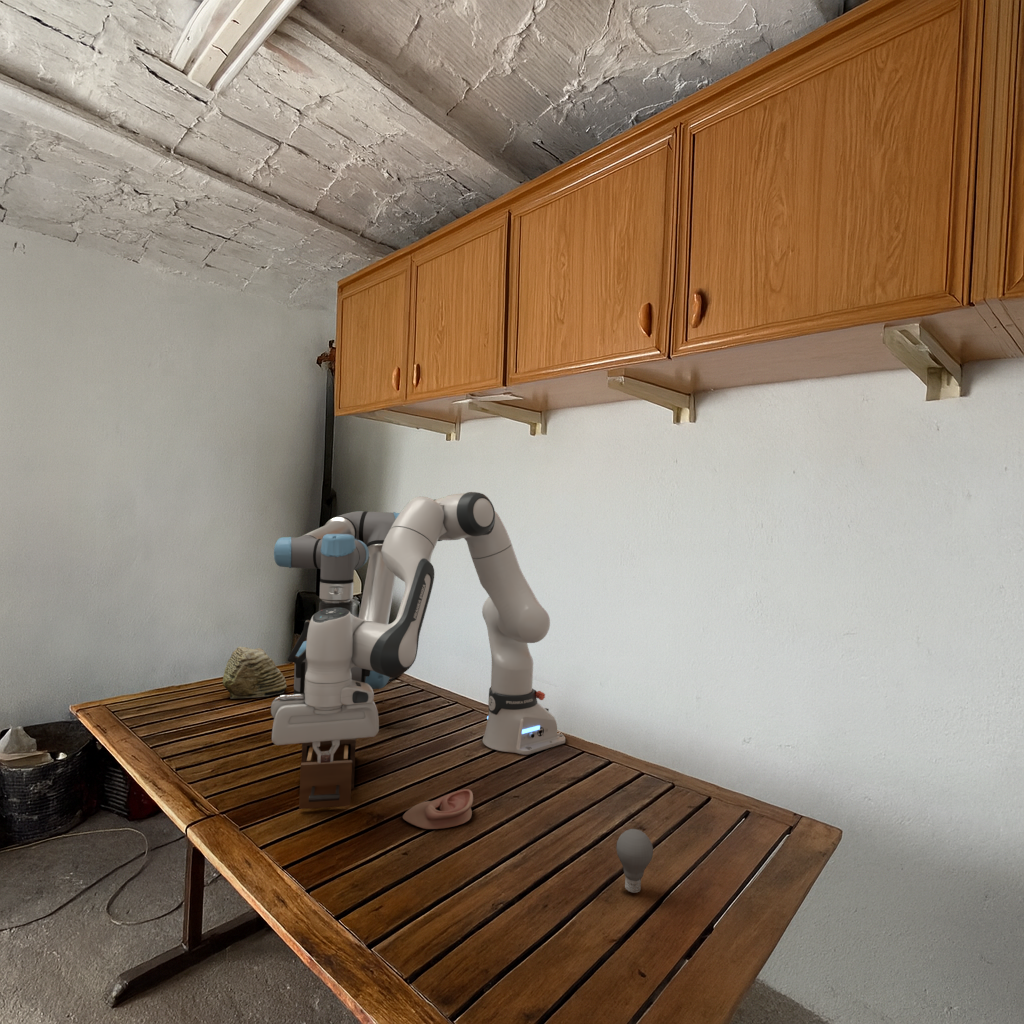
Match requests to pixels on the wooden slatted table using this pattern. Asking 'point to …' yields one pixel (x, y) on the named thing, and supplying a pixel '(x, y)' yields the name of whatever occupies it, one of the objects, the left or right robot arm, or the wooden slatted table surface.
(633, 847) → the light bulb
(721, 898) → the wooden slatted table surface
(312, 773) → the drawer
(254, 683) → the fossil
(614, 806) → the wooden slatted table surface
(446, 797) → the anatomical model
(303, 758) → the cabinet
